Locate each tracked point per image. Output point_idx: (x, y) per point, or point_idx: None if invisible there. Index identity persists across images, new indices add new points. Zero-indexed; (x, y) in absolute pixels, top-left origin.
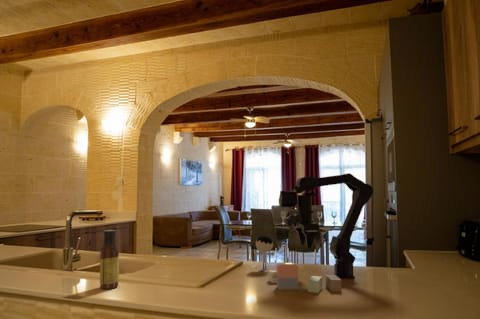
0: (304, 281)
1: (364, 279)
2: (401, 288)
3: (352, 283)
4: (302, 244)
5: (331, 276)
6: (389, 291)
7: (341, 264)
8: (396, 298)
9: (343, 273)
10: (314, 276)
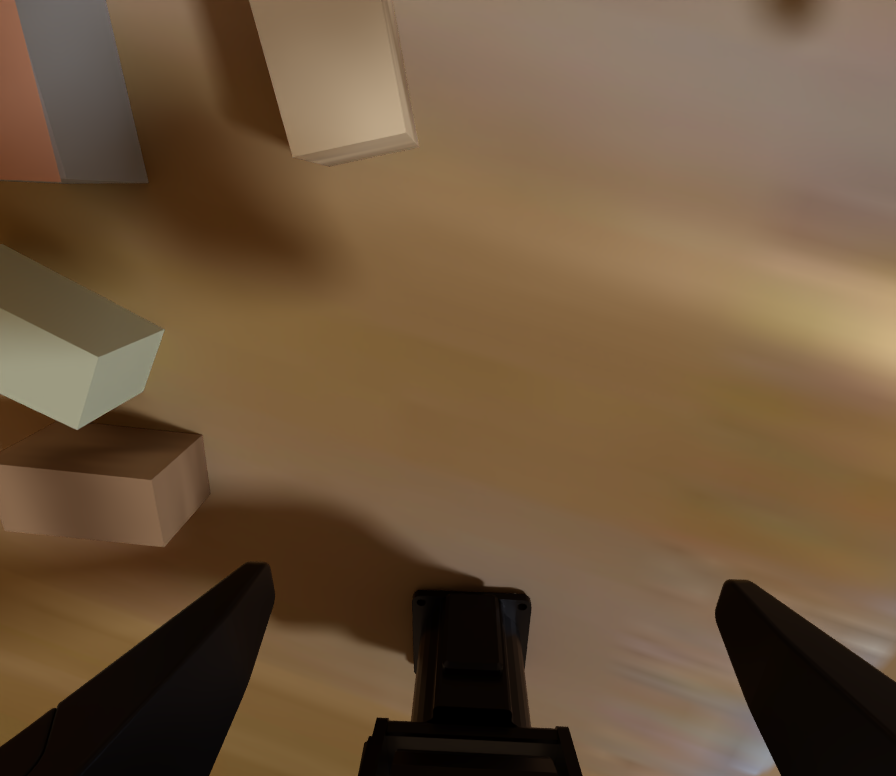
0: (335, 317)
1: (386, 693)
2: None
3: (286, 606)
4: (723, 609)
5: (108, 505)
6: None
7: (427, 698)
8: (5, 664)
9: (424, 639)
10: (71, 369)
